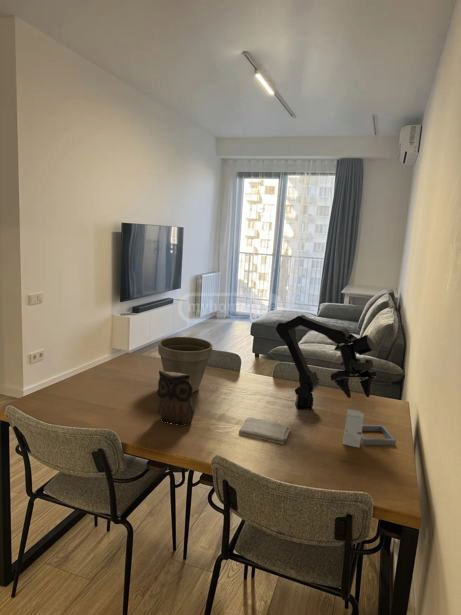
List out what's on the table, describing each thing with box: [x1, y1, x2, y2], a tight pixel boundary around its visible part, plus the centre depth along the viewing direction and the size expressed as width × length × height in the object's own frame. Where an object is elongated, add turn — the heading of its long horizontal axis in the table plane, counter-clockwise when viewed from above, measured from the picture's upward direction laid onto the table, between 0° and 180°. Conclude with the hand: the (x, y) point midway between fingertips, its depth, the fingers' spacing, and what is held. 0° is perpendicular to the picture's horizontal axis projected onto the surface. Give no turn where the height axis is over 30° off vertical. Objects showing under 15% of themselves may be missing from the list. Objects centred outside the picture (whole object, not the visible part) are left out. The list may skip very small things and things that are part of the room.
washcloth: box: [238, 417, 292, 445], centre depth 158 cm, size 12×18×3 cm, turn 72°
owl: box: [157, 370, 195, 426], centre depth 162 cm, size 13×13×20 cm
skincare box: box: [342, 408, 365, 448], centre depth 152 cm, size 6×4×12 cm
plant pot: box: [157, 336, 214, 393], centre depth 196 cm, size 25×25×22 cm
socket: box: [360, 424, 397, 446], centre depth 159 cm, size 12×12×2 cm
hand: (359, 397), depth 162 cm, fingers open, 9 cm apart
